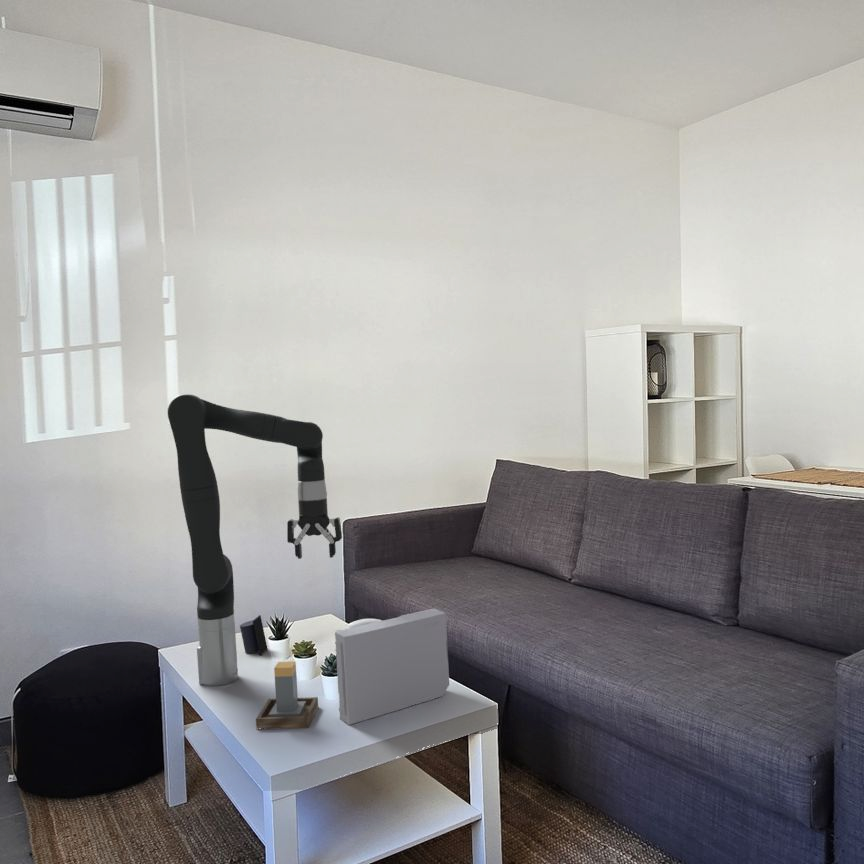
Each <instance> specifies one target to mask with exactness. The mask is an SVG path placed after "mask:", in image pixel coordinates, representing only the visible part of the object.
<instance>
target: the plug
mask: <svg viewBox="0 0 864 864" xmlns="http://www.w3.org/2000/svg"><path fill="white" fill-rule="evenodd" d="M296 665H297V663H296V660H295V661H278V662H277V663H276V665H275V666H274V668H273V669H274V671H273V672H274V673H273V674H274V687H275V689H274V690H275V699H276V703H275V705H274V707H273V708H272V710H271V711H270V713H269V717H294V716H302V715H303V713H304V711H305V709H306V701H298V698H299V697H298V695H299V694H298V681H297V680H298V679H297V677H298V676H297V666H296Z"/></svg>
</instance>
